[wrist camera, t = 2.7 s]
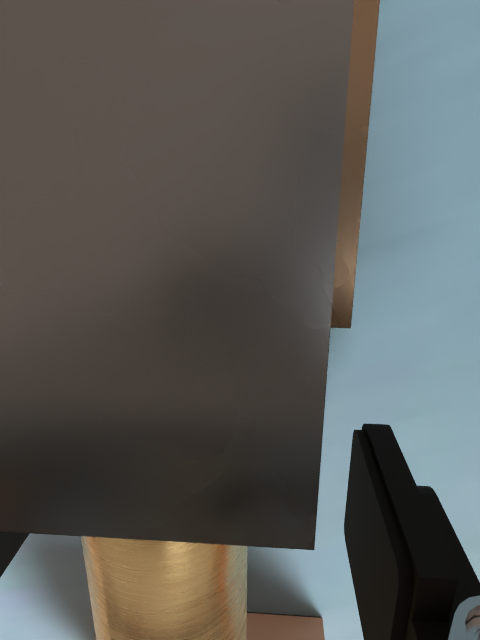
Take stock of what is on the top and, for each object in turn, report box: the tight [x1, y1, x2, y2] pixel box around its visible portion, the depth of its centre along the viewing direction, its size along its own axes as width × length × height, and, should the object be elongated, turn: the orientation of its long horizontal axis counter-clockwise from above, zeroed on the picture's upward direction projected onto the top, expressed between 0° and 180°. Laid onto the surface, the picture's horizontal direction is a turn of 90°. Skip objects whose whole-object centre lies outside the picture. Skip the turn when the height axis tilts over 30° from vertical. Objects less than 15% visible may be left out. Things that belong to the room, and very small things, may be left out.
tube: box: [81, 536, 247, 640], centre depth 8 cm, size 16×3×3 cm, turn 0°
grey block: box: [0, 0, 380, 550], centre depth 8 cm, size 9×7×8 cm
